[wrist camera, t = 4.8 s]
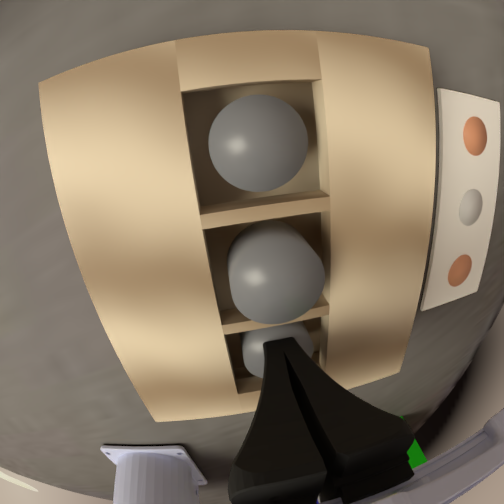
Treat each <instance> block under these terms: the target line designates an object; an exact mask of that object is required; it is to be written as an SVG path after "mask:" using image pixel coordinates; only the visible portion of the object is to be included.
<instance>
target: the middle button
mask: <svg viewBox="0 0 504 504" xmlns="http://www.w3.org/2000/svg"><path fill="white" fill-rule="evenodd" d="M227 269H228V276H229V282H230V289H231V295H232V299H233V301H234V304H235V305H236V307H237V309H238V310H239V311H240V312H241V313H242V314H243V315H244V316H246V317H247V318H249V319H251V320H253V321H255V322H258V323H262V324H282V323H286V322H289V321H292V320H294V319H297V318H299V317H300V316H302V315H304V314H305V313H306V312H307V311H309V310H310V309H311V308H312V307H313V306H314V304H315V303H316V302H317V300H318V299H319V297H320V295H321V293H322V291H323V288H324V284H325V271H324V267H323V264H322V262H321V260H320V258H319V257H318V256H317V254H316V253H315V252H314V250H313V249H312V248H311V247H310V245H309V244H308V243H307V241H306V240H305V239H304V238H303V236H302V235H301V234H300V233H299V231H297V230H296V229H295V228H294V227H292V226H291V225H289V224H287V223H284V222H281V221H274V220H268V221H261V222H257V223H254V224H252V225H250V226H248V227H246V228H245V229H243V230H242V231H241V232H240V233H239V234H238V235H237V236H236V237H235V238H234V240H233V241H232V243H231V245H230V247H229V250H228V254H227Z"/></svg>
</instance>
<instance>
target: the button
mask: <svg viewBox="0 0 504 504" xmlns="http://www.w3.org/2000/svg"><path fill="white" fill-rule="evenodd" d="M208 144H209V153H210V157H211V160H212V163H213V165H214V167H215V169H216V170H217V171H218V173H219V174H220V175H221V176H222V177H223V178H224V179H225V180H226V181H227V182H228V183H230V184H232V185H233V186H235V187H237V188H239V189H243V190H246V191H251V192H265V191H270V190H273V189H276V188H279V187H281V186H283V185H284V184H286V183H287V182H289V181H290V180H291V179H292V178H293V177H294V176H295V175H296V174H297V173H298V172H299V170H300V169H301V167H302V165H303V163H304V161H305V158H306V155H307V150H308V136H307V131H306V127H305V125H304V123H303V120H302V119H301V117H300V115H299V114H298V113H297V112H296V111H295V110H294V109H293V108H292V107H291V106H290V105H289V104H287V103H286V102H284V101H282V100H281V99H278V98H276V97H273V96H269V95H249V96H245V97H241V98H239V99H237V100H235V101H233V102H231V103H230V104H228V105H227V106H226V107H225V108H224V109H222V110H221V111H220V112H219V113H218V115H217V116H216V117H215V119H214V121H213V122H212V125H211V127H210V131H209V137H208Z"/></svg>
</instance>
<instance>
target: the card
mask: <svg viewBox="0 0 504 504" xmlns="http://www.w3.org/2000/svg"><path fill="white" fill-rule="evenodd" d="M437 94H438V109H439V178H438V194H437V206H436V217H435V226H434V234H433V241H432V248H431V255H430V261H429V267H428V272H427V277H426V283H425V288H424V292H423V297H422V301H421V306H420V310H421V311H424V310H427V309H430V308H433V307H436V306H439V305H442V304H445V303H447V302H450V301H453V300H456V299H458V298H461V297H464V296H466V295H469V294H471V293H474V292H476V291H477V290H478V286H479V283H480V279H481V275H482V271H483V268H484V263H485V259H486V255H487V250H488V246H489V241H490V235H491V230H492V224H493V218H494V212H495V204H496V196H497V187H498V176H499V162H500V103H499V102H496V101H492V100H489V99H485V98H481V97H477V96H474V95H469V94H465V93H461V92H456V91H451V90H447V89H441V88H437Z"/></svg>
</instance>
